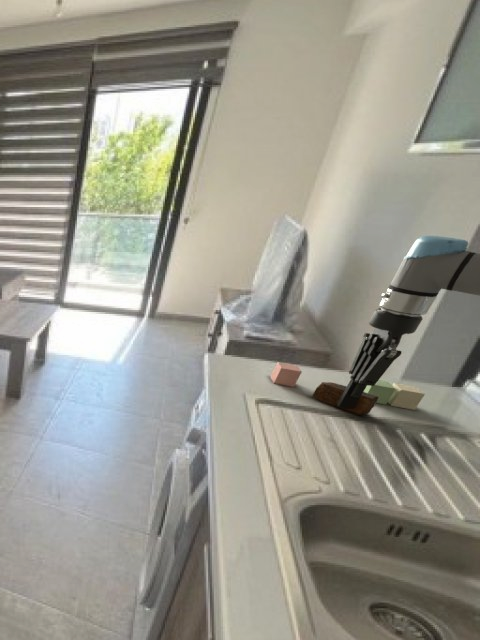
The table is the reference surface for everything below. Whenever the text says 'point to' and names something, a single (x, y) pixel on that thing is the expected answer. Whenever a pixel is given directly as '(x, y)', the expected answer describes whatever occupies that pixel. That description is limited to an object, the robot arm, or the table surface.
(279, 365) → the cube rose
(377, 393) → the cube sage
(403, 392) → the cube cream
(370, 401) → the brick
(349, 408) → the robot arm
